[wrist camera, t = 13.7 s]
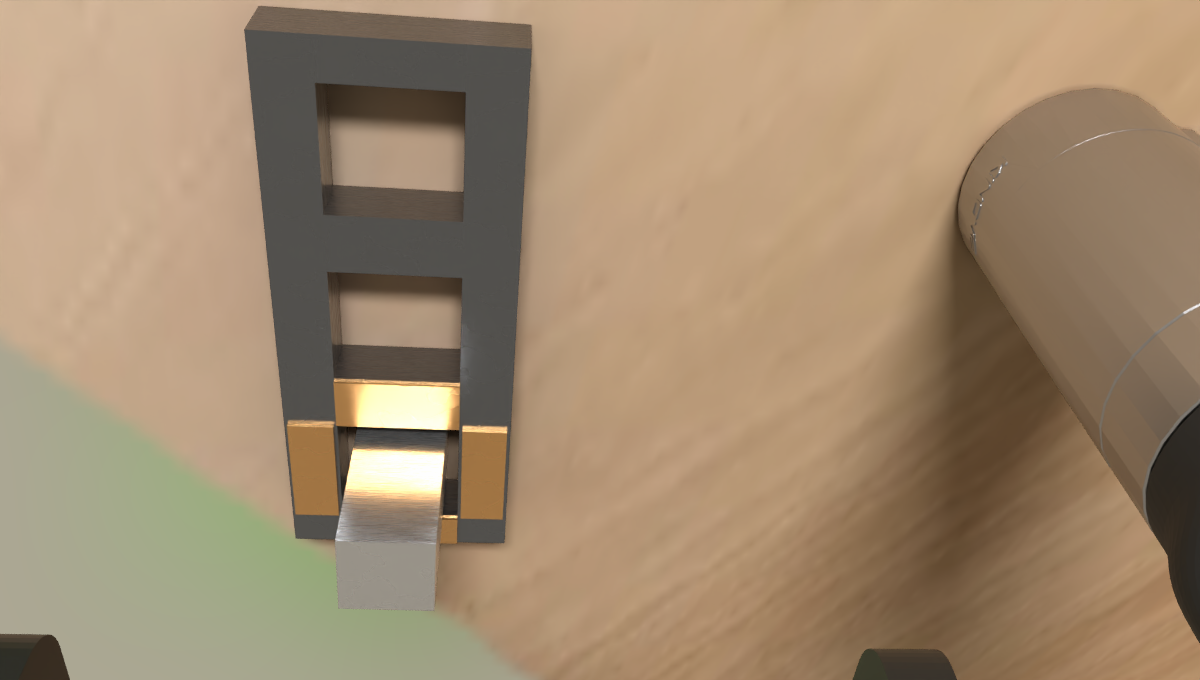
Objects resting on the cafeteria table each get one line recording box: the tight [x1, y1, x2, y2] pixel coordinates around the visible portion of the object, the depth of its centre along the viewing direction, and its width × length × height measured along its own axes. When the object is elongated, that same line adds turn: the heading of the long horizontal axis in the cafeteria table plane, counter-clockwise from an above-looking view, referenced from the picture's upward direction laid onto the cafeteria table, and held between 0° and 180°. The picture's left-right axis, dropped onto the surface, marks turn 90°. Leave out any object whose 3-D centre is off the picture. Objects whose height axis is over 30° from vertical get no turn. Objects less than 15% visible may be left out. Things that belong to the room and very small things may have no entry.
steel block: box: [335, 427, 448, 611], centre depth 48 cm, size 4×4×9 cm
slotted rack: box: [244, 6, 532, 544], centre depth 46 cm, size 10×25×3 cm, turn 175°
